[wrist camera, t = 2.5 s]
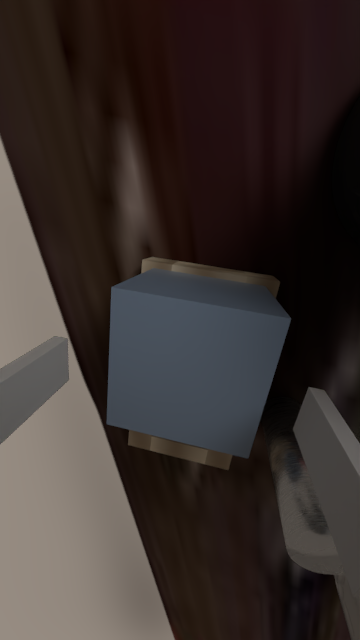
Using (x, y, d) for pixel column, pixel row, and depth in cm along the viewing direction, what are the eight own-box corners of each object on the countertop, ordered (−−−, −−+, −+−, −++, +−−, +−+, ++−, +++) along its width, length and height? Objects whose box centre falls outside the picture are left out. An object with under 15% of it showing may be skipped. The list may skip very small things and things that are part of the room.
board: (273, 275, 22) (280, 281, 19) (228, 447, 28) (228, 470, 26) (152, 256, 23) (142, 259, 20) (137, 425, 30) (127, 444, 27)
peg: (310, 402, 25) (379, 538, 14) (297, 435, 26) (350, 582, 15) (266, 392, 25) (298, 516, 14) (255, 425, 27) (277, 561, 16)
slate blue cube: (265, 286, 19) (291, 318, 12) (240, 383, 22) (248, 458, 15) (153, 268, 20) (111, 287, 13) (144, 363, 23) (106, 424, 16)
